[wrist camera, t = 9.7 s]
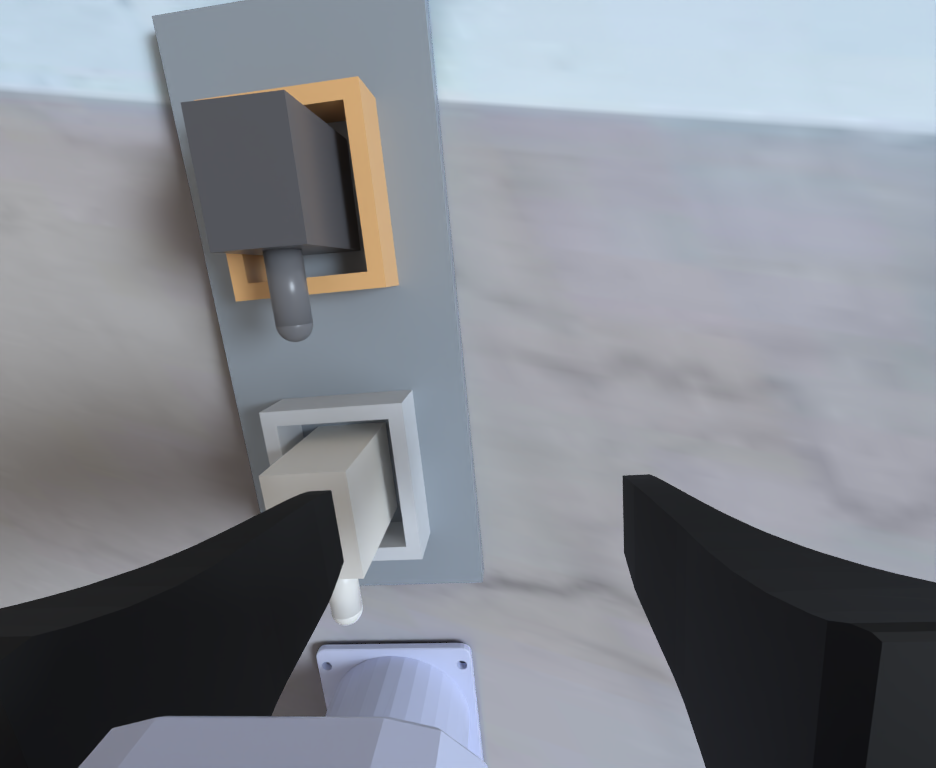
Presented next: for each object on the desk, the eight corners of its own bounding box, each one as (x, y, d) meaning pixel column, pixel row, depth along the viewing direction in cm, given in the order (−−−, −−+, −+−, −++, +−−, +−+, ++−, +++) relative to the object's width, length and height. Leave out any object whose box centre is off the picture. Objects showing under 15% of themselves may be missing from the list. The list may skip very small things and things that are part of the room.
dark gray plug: (370, 326, 19) (322, 346, 14) (300, 331, 19) (230, 352, 14) (346, 139, 17) (283, 89, 13) (270, 147, 18) (180, 102, 13)
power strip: (483, 568, 22) (475, 673, 17) (286, 574, 23) (213, 675, 18) (426, -13, 17) (383, -160, 11) (171, 29, 18) (9, -85, 12)
